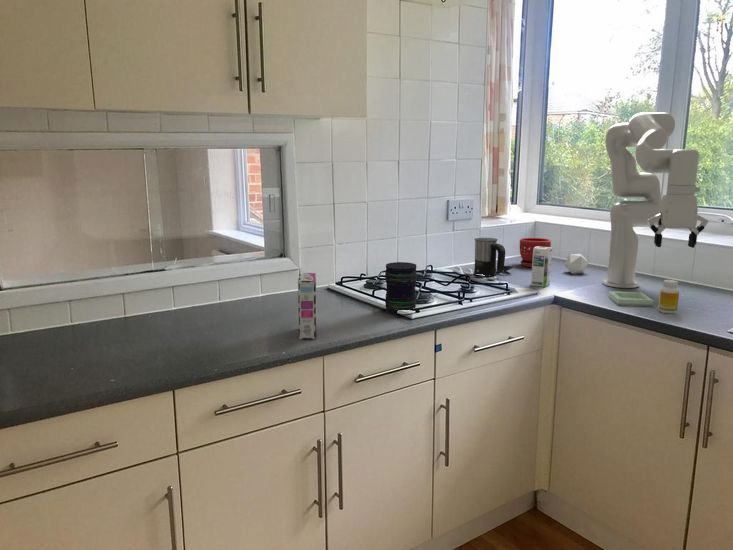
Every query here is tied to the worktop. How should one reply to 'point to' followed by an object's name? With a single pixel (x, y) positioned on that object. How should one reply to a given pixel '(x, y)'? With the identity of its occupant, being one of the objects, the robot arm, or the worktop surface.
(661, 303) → the supplement bottle
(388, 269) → the storage jar
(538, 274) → the syrup box
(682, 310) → the worktop surface
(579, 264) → the die
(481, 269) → the milk frother
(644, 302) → the green tray
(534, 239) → the plant pot
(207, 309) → the worktop surface
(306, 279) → the candy bar box
